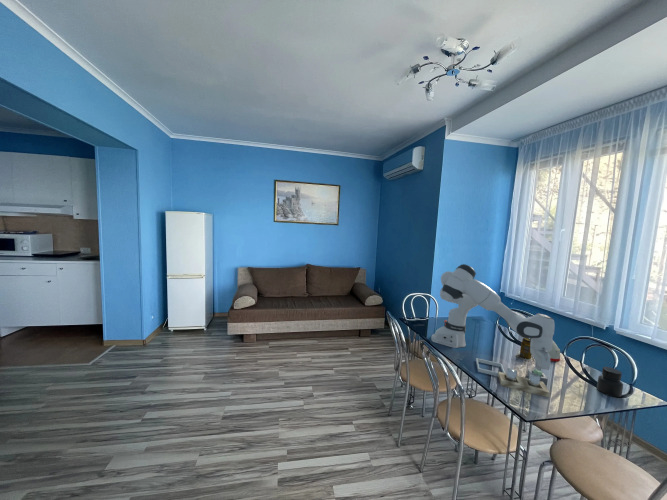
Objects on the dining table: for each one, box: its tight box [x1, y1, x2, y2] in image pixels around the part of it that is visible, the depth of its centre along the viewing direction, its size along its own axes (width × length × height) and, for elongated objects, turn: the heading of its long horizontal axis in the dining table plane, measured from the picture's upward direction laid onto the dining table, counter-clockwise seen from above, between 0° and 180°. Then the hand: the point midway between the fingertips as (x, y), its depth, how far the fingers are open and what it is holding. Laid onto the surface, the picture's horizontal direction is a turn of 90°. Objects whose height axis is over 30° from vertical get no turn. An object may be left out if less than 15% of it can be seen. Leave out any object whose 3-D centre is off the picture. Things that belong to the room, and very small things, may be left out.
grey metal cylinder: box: [528, 373, 540, 388], centre depth 135 cm, size 4×4×7 cm
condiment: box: [515, 337, 534, 362], centre depth 171 cm, size 7×8×12 cm
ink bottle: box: [596, 366, 624, 398], centre depth 136 cm, size 10×9×12 cm
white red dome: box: [548, 340, 561, 362], centre depth 174 cm, size 14×14×15 cm
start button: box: [532, 368, 543, 377], centre depth 144 cm, size 4×4×3 cm
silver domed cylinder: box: [506, 367, 518, 382], centre depth 139 cm, size 4×4×7 cm
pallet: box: [497, 371, 551, 398], centre depth 137 cm, size 20×10×3 cm, turn 67°
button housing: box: [526, 368, 549, 386], centre depth 144 cm, size 7×7×4 cm
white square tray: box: [475, 357, 506, 377], centre depth 153 cm, size 13×13×2 cm
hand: (537, 369), depth 143 cm, fingers closed
